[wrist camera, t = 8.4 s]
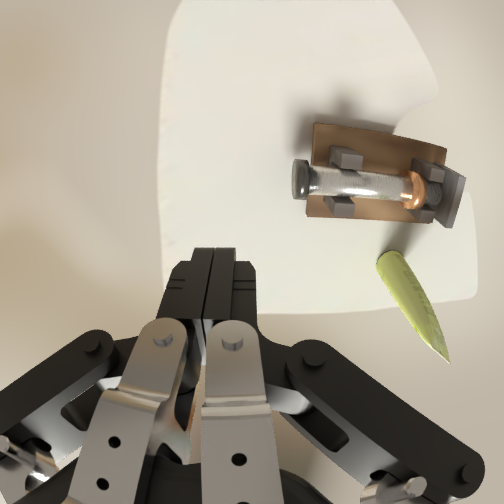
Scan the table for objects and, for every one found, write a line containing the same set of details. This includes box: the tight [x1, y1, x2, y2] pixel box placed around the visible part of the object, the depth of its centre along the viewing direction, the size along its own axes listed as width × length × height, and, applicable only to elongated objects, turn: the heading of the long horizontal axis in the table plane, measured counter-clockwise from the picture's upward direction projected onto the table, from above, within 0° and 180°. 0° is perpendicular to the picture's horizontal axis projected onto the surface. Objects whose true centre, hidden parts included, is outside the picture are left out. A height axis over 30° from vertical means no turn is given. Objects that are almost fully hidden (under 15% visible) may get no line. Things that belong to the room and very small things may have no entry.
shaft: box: [292, 159, 442, 210], centre depth 29 cm, size 5×19×5 cm, turn 89°
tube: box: [376, 251, 451, 364], centre depth 32 cm, size 6×5×20 cm
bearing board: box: [306, 123, 466, 228], centre depth 30 cm, size 12×20×7 cm, turn 89°
